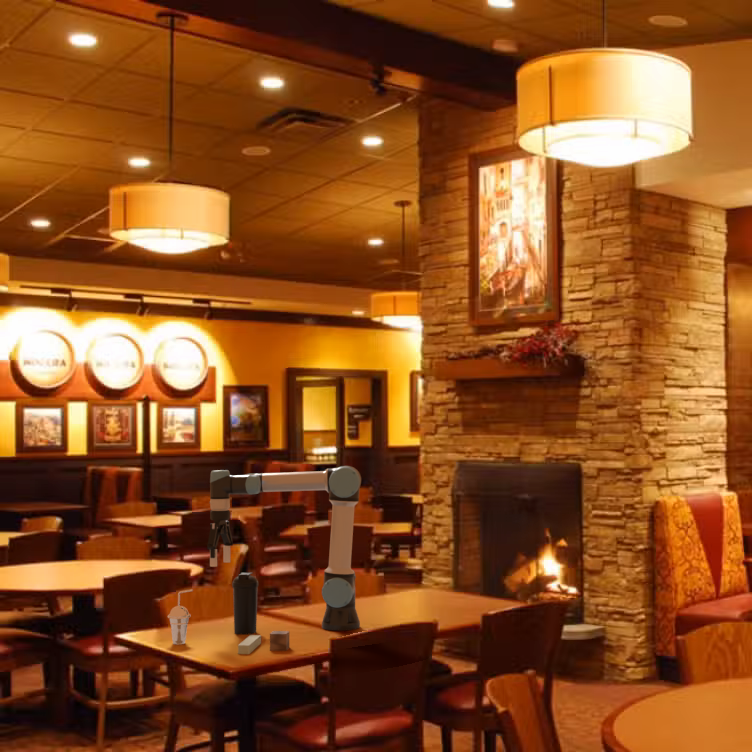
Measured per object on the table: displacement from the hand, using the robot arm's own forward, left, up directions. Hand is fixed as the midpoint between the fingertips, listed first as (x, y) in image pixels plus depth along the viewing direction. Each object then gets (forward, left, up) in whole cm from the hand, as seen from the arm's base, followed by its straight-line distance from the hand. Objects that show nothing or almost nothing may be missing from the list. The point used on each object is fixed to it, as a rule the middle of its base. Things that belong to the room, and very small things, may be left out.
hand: (220, 564), depth 436 cm
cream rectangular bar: (-18, +29, -27) cm, 43 cm away
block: (-29, +29, -27) cm, 49 cm away
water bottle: (-9, -3, -27) cm, 29 cm away
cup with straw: (+10, +21, -27) cm, 36 cm away
